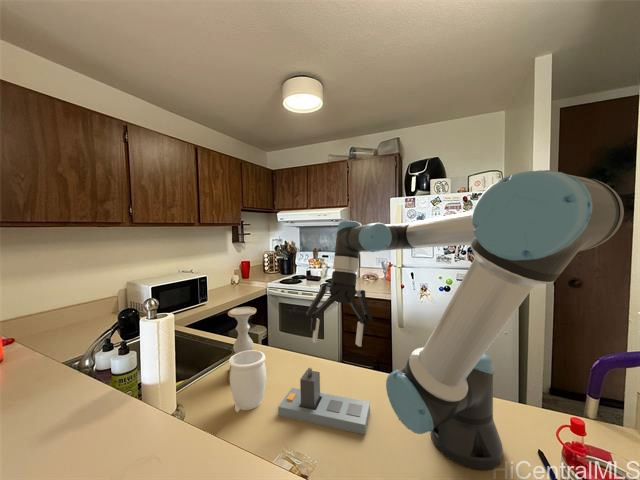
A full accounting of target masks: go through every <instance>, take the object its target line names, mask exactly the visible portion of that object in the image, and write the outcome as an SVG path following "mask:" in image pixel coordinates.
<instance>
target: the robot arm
mask: <svg viewBox="0 0 640 480" xmlns="http://www.w3.org/2000/svg"><path fill="white" fill-rule="evenodd" d="M624 213H625V209H624V204H623V201H622V199H621V197H620V196H619V194H618V193H617V192H616V191H615V190H614V189H613V188H612V187H610V186H609V185H608V184H606V183H604V182H602V181H599V180H598V179H594V178H590V177H584V176H578V175H577V176H576V175H571V174H568V173H567V174H566V173H564V172H562V171H553V170H552V171H551V170H548V169H546V170H541V169H540V170H528V171H527V170H526V171H521V172H515V173H512V174H510V175H507V176H505V177H502V178H500V179H499V180H497V181H495V182H494V183H493V184H491V185H489V187H488V188H486V189H485V191H484V192H483V193H482V194H481V195H480V197H479V198H478V200H477V202H476V203H475V206H474V208H473V210H472V211H465V212H461V213H455V214H449V215H444V216H439V217H434V218H433V217H432V218H427V219H423V220H418V221H417V220H416V221H411V222H405V223H393V224H391V223H390V224H389V223H387V224H385V223H383V222H371V223H368V224H363V225H362V223H361V222H359V221H354V220H342V221H340V222H339V223H338V226H337V232H336V238H335V239H336V240H335V249H334V258H333V265H332V266H333V267H332V269H333V271H332V274H331V281H330V285H329V286H327V285H324V284H321V285H320V287H319V289H318V290H319V291H318V293H317V294H316V296H315V297H314V298H313V301H312V302H311V304H310V306H309V307H308V309H307V310H306V312H305V314H306V316H308V317H310V318H311V319H310V320H311V322H310V330H311V331H313V332H312V339H311V340H312V343H313V344H317V343H318V338H319V337H318V335H319V329H320V328H319V327H320V322H321V321H320V319H319V317H320V316H321V315H322V314H323V313H324V312H325V311H326V310H327V309H328V308H329V307H330V306H331V305H333V303H335V302H336V303H340V304H341V303H343V304H348V305H350V307H351V309H352V311H354V314H355V315H356V317H358V320H359V321H357V325H356V336H355V345H356V346H358V347H362V341H363V335H366V329H367V325H368V324H369V323H373V320H374V319H373V316H372V314H371V311H370V307H369V305H368V301H367V298H366V290H364V289H357V286H356V285H357V280H358V279H357V278H358V274H357V272H358V271H359V269H358V268H359V259H360V253H361V252H362V253H367V252H368V253H369V252H371V253H375V252H381V251H382V252H383V251H393V250H412V249H420V248H421V249H422V248H424V249H425V248H438V247H439V248H441V247H455V246H456V247H457V246H459V247H460V246H470V249H471V251H472V253H473V255H474V259H473V260H472V263H471V264H470V266H469V268H468V270H467V271H466V273H465V274H464V276H463V278H462V280H461V282H460V283H459V284H458V285H459V286H458V287H457V289H456V291H455V292H454V294H453V295H452V297H451V299H450V301H449V303H448V304H447V306H446V308H445V309H444V312H443V313H442V315H441V317H440V319H439V320H438V321H437V322H438V323H436V326H435V328H434V329H433V331H432V332H431V335H430V336H429V338H428V339H427V341H426V343H425V344H424V346H423V347H417V348H416V349H414V350H413V351H412V352H411V353H410V355H409V357H408V359H407V361H406V362H405V364H404V366H403V367H402V368H400V369H395V370H393V371H392V372H390V373H389V374H388V375H387V378H386V383H385V390H386V394H387V398H388V400H389V403H390V406H391V408H392V410H393V412H394V414H395V415H396V417H397V418H398V420H399V421H400V422H401V423H402V424H403V426H404V427H405V428H406V429H408V430H409V431H411V432H412V433H414V434H417V435H423V434H426V433H429V432H430V438H431V440H432V442H433V444H434V446H435V447H436V448H437V449H438V450H439V452H441V454H443V455H444V456H445V457H446V458H448V459H449V460H451V461H452V462H454V463H456V464H458V465H460V466H462V467H465V468H468V469H470V470H471V469H472V470H477V471H488V470H489V471H490V470H494V469H495V468H497V467H498V466H500V465H501V463H502V461H503V455H504V454H503V449H504V448H503V444H502V439H501V437H500V434H499V431H498V429H497V427H496V424H495V421H494V414H493V413H494V371H493V370H494V369H493V361H492V359H491V357H490V356H489V354H487V353H486V352H487V351H488V349H489V348H490V347H491V345H492V344H493V343H494V341H495V340H496V339H497V337H498V336H499V334H500V333H501V331H503V329H504V328H505V326H507V324H508V322H509V321H510V320H511V318H512V317H513V316H514V314H515V313H516V311H517V310H518V309H519V308H520V306H521V305H522V303H523V302H524V301H525V299H526V298H527V297H528V295H529V294H530V292H531V291H532V290H533V289H534V288H535V286H538V285H539V286H540V285H548V284H552V283H553V284H554V282H556V280H557V279H558V278H559V276H560V275H561V274H562V273H563V271H564V270H565V269H566V267H567V266H568V265H569V264H570V263H571V261H572V260H573V259H574V258H575V256H576V255H577V253H579V252H581V251H586V250H589V249H592V248H593V249H594V248H596V247H598V246H600V245H601V244H603V243H605V242H606V241H608V240H609V239H611V237H613V236H614V235H615V234H616V233H617V232H618V230H619V228H620V226H621V225H622V222H623V220H624ZM328 292H329V294H330V295H329V297H327V298H326V300H325V301H323V303H322V304H321V305H320V306H319V307H318V305H319V304H320V303H321V301H322V299H323V297H324V296H325V294H327V293H328ZM356 296H357V298H358V301H359V303H360V306H361V308H360V307H359V305H358V304H357V302H356V300H355V298H354V297H356ZM316 308H317V309H316ZM361 309H362V310H361Z"/></svg>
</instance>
